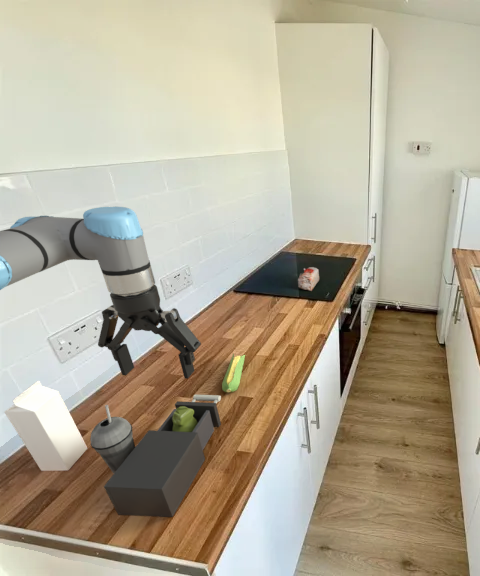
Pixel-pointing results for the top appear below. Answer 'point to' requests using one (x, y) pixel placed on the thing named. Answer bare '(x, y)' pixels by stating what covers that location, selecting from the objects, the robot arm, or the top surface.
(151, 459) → the cabinet
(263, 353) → the top surface
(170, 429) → the drawer
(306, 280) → the food item
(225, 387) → the edible corn
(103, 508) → the top surface
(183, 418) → the pear
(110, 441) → the beverage cup
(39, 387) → the milk
